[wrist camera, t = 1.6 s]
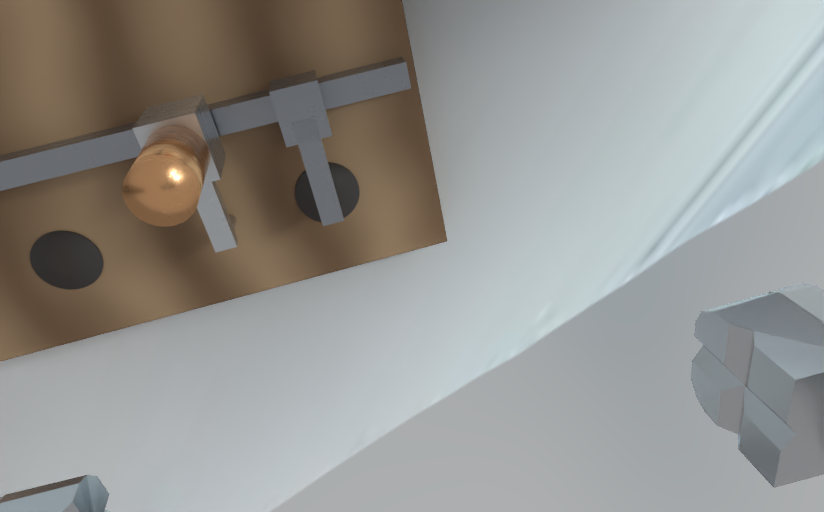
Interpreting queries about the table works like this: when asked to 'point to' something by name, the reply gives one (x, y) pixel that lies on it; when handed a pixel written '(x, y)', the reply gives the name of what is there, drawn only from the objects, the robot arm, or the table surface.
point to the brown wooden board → (242, 172)
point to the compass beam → (233, 129)
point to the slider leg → (180, 170)
